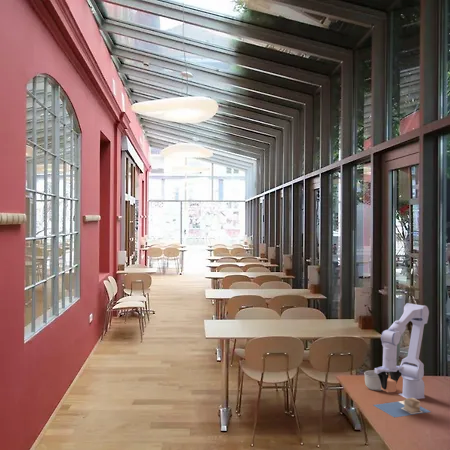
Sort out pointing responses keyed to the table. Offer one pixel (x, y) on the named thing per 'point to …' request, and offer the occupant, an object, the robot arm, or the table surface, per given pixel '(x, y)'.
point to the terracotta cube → (390, 386)
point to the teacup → (372, 380)
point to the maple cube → (412, 405)
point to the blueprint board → (398, 409)
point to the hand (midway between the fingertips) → (388, 388)
